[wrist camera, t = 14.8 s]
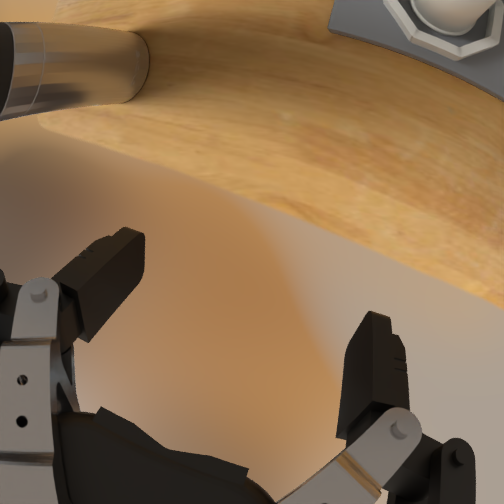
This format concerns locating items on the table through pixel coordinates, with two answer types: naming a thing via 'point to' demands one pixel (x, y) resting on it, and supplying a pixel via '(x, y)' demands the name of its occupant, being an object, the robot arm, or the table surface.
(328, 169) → the table surface
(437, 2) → the bottle
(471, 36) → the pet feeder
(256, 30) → the table surface
